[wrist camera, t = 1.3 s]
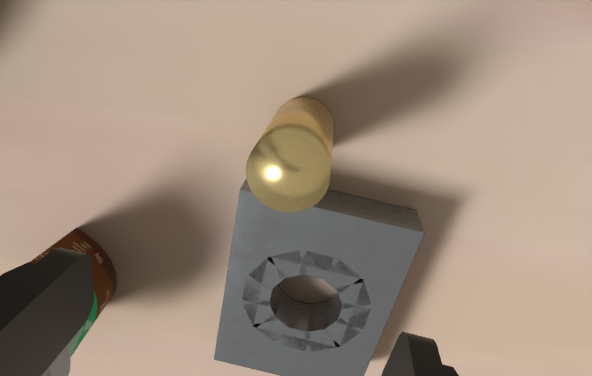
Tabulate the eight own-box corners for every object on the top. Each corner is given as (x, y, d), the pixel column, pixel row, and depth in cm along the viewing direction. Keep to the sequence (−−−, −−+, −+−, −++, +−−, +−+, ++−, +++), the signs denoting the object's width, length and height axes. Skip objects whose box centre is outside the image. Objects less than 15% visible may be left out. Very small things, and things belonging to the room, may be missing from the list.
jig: (250, 171, 27) (240, 189, 24) (416, 210, 27) (424, 233, 24) (224, 331, 34) (213, 359, 31) (355, 363, 34) (356, 393, 31)
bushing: (279, 90, 24) (252, 125, 17) (340, 104, 24) (339, 145, 17) (269, 148, 26) (240, 202, 19) (325, 161, 26) (319, 220, 19)
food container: (105, 339, 36) (26, 449, 27) (44, 309, 35) (-58, 412, 26) (150, 252, 31) (71, 352, 22) (80, 214, 30) (-31, 302, 21)
